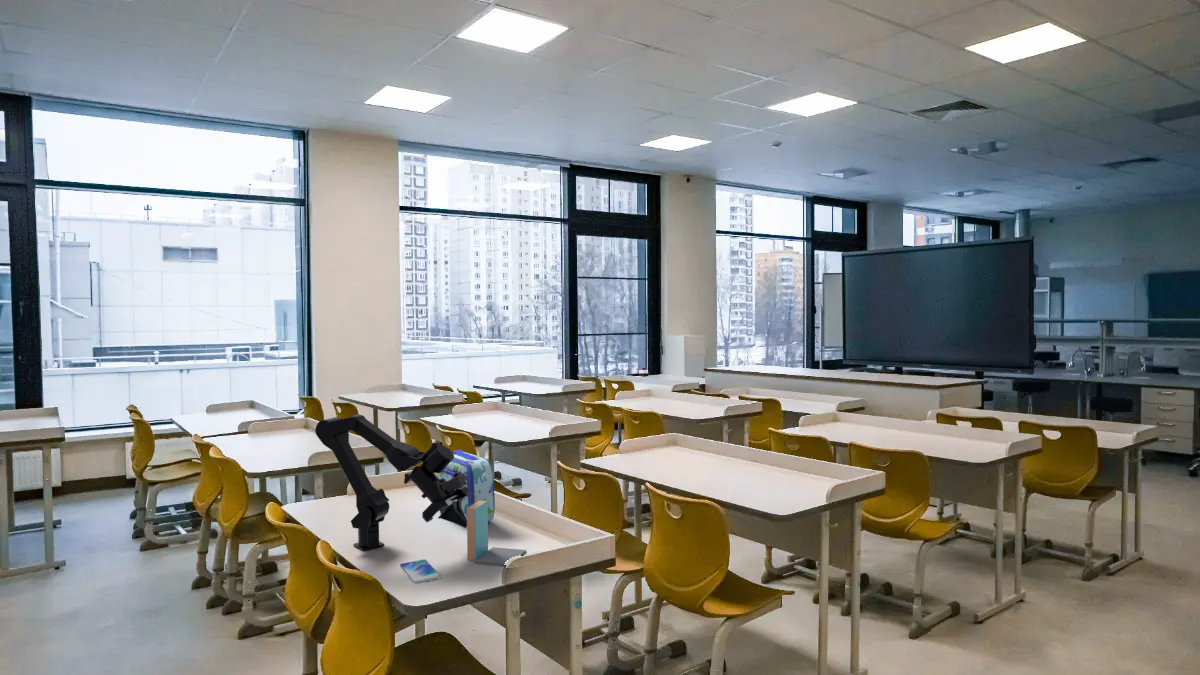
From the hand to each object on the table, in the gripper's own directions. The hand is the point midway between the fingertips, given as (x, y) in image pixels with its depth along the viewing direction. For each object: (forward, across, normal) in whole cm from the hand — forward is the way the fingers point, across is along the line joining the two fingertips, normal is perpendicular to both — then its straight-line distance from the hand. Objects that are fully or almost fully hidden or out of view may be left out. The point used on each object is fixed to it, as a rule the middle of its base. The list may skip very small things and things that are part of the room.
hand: (467, 526), depth 201 cm
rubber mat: (+12, 0, -1) cm, 12 cm away
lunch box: (-6, +32, +17) cm, 37 cm away
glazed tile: (+8, 0, +3) cm, 8 cm away
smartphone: (+2, -15, +10) cm, 18 cm away
